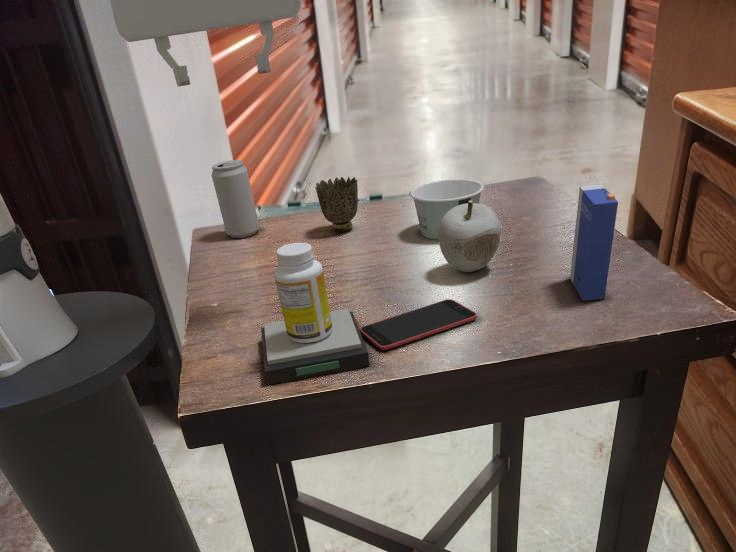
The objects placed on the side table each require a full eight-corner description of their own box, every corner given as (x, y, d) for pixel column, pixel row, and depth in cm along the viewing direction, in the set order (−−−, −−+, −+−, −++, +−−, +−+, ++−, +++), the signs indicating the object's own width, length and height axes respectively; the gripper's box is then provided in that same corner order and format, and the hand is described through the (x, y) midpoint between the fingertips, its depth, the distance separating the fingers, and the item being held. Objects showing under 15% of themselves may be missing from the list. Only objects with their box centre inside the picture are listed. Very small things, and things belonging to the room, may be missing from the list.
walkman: (604, 299, 78) (619, 198, 70) (582, 301, 78) (594, 200, 70) (590, 276, 84) (602, 180, 76) (569, 277, 84) (579, 182, 76)
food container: (401, 229, 107) (398, 189, 103) (461, 214, 110) (461, 174, 106) (432, 248, 99) (430, 204, 94) (497, 231, 101) (498, 188, 97)
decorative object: (471, 255, 94) (471, 185, 88) (512, 268, 89) (515, 194, 82) (427, 272, 91) (423, 200, 85) (466, 287, 85) (465, 212, 79)
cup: (361, 234, 108) (355, 185, 102) (320, 238, 109) (312, 190, 103) (364, 221, 113) (358, 174, 108) (325, 225, 114) (318, 178, 109)
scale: (268, 385, 70) (263, 367, 69) (264, 340, 80) (259, 323, 78) (369, 366, 71) (367, 348, 70) (354, 324, 80) (351, 306, 79)
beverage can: (232, 229, 119) (215, 160, 111) (264, 226, 118) (249, 157, 110) (223, 240, 114) (204, 169, 106) (256, 237, 113) (239, 166, 105)
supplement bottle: (318, 320, 77) (303, 236, 70) (341, 333, 73) (328, 246, 66) (279, 335, 75) (260, 250, 68) (301, 349, 71) (284, 261, 64)
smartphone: (480, 314, 77) (382, 348, 73) (480, 319, 77) (382, 352, 73) (450, 297, 82) (356, 327, 78) (450, 301, 82) (357, 332, 78)
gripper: (79, -73, 59) (131, 96, 68) (287, -101, 60) (312, 68, 69) (90, -68, 64) (138, 89, 73) (283, -94, 65) (307, 63, 74)
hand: (224, 79), depth 71 cm, fingers open, 8 cm apart
